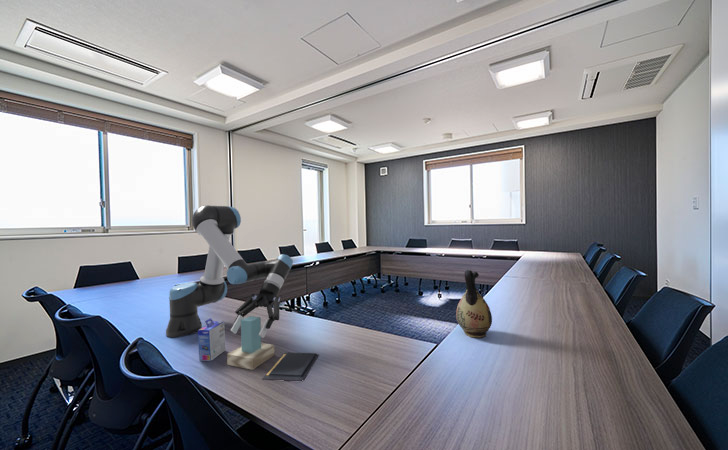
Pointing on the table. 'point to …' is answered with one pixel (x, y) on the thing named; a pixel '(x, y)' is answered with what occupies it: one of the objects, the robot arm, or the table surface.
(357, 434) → the table surface
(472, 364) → the table surface
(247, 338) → the teal block
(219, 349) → the ink cartridge box
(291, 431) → the table surface
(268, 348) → the birch riser
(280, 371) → the wallet
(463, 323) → the ceramic jug
